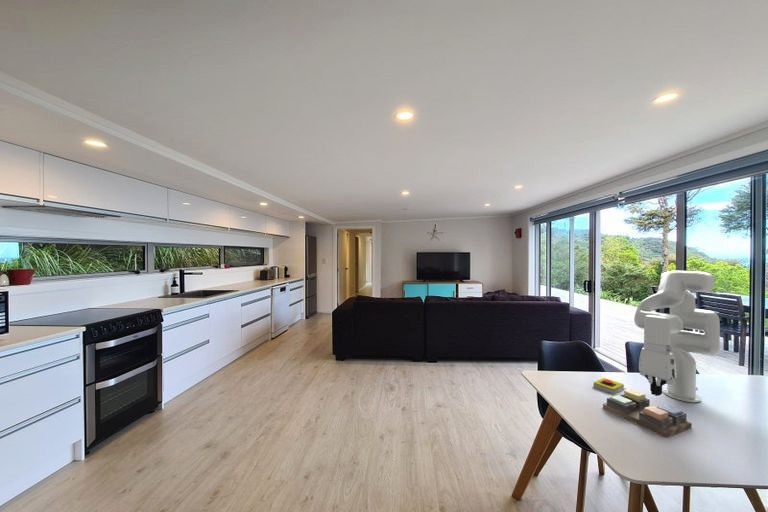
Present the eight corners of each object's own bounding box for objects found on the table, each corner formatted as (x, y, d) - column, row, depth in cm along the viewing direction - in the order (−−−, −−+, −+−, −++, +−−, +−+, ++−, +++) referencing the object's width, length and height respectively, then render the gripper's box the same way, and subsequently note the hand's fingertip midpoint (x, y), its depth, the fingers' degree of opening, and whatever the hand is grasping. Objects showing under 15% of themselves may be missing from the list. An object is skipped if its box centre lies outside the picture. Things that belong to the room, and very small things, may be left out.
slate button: (665, 412, 121) (665, 404, 121) (681, 419, 116) (681, 410, 116) (657, 415, 119) (657, 406, 119) (674, 422, 114) (674, 413, 114)
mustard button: (631, 396, 132) (631, 389, 132) (645, 402, 127) (645, 394, 127) (624, 398, 130) (624, 390, 130) (637, 404, 125) (638, 396, 125)
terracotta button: (651, 414, 117) (651, 405, 117) (668, 420, 112) (668, 412, 112) (643, 416, 115) (643, 407, 115) (660, 423, 110) (660, 414, 110)
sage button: (618, 402, 128) (618, 395, 128) (632, 408, 124) (632, 400, 124) (610, 405, 126) (610, 397, 126) (624, 411, 122) (624, 402, 122)
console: (627, 401, 134) (627, 390, 134) (691, 428, 114) (691, 415, 114) (602, 408, 128) (602, 396, 128) (666, 437, 108) (666, 424, 108)
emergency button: (591, 380, 148) (605, 374, 156) (591, 389, 148) (605, 382, 156) (612, 387, 140) (626, 381, 148) (612, 396, 140) (626, 389, 148)
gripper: (687, 352, 108) (686, 402, 108) (640, 341, 122) (639, 385, 122) (676, 354, 105) (675, 405, 105) (628, 342, 119) (628, 387, 119)
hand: (656, 394), depth 114 cm, fingers closed
